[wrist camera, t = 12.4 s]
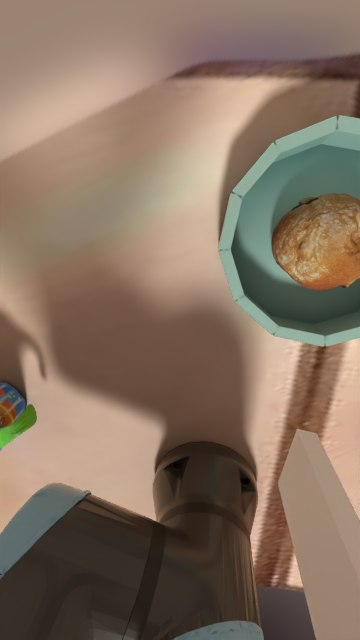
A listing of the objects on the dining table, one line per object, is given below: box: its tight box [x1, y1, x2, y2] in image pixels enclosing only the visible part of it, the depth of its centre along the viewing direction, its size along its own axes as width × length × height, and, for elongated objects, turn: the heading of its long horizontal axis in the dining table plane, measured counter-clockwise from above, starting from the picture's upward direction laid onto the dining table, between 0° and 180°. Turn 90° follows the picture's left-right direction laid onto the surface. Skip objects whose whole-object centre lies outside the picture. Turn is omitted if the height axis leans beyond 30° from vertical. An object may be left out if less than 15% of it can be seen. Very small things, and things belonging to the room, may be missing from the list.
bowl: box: [218, 115, 360, 347], centre depth 32 cm, size 21×21×5 cm
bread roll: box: [271, 193, 360, 291], centre depth 32 cm, size 10×10×8 cm
